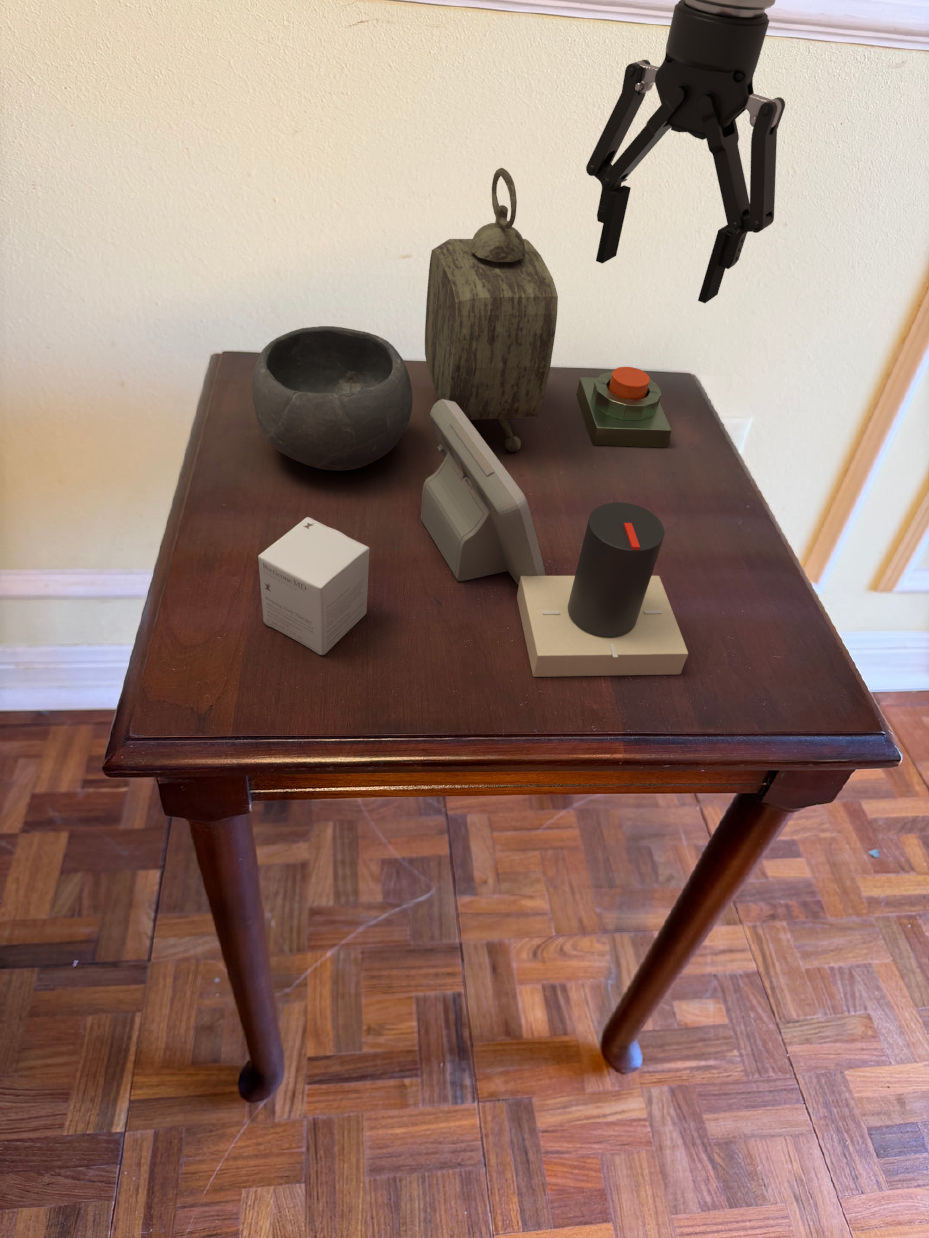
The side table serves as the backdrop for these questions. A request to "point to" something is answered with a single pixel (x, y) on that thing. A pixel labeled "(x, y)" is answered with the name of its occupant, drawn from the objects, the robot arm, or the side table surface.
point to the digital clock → (476, 505)
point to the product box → (314, 584)
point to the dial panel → (582, 654)
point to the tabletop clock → (491, 321)
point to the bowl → (332, 396)
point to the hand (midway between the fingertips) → (655, 277)
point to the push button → (629, 383)
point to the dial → (614, 568)
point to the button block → (622, 415)
